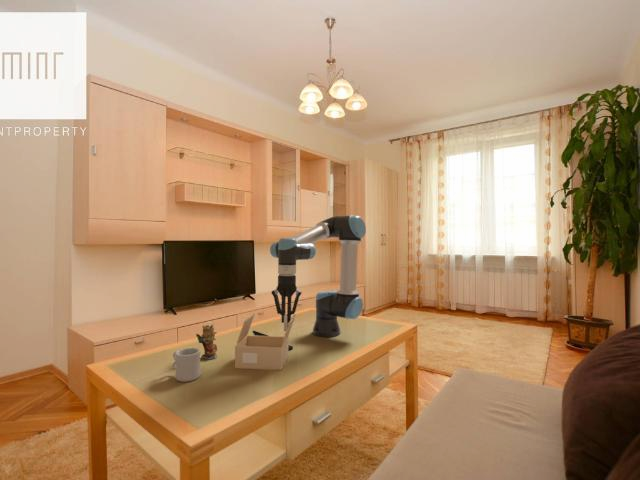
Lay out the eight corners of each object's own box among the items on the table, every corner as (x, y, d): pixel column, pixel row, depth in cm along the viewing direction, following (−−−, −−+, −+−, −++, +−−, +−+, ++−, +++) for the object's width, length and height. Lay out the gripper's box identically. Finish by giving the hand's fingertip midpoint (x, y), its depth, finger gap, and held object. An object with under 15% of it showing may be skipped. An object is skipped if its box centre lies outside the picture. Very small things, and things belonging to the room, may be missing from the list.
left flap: (246, 334, 150) (253, 313, 150) (247, 334, 150) (254, 313, 149) (236, 343, 137) (244, 320, 137) (237, 343, 137) (245, 321, 137)
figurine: (221, 355, 150) (221, 322, 150) (210, 361, 143) (210, 327, 143) (204, 353, 153) (204, 320, 153) (192, 359, 146) (192, 325, 146)
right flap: (287, 335, 148) (294, 314, 148) (288, 335, 148) (295, 314, 148) (281, 344, 136) (289, 322, 135) (282, 345, 136) (290, 322, 135)
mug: (206, 375, 130) (205, 349, 130) (187, 384, 122) (187, 357, 121) (182, 369, 135) (182, 344, 135) (163, 378, 127) (163, 352, 127)
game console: (294, 349, 159) (294, 330, 159) (271, 357, 150) (271, 337, 150) (274, 342, 170) (274, 324, 170) (251, 348, 161) (251, 329, 161)
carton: (246, 355, 151) (246, 335, 151) (288, 356, 150) (288, 336, 149) (235, 368, 136) (235, 346, 136) (281, 370, 135) (281, 348, 134)
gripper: (269, 275, 138) (268, 332, 139) (300, 276, 137) (299, 333, 137) (274, 273, 146) (273, 327, 146) (303, 274, 144) (302, 328, 145)
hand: (286, 330), depth 142 cm, fingers closed
